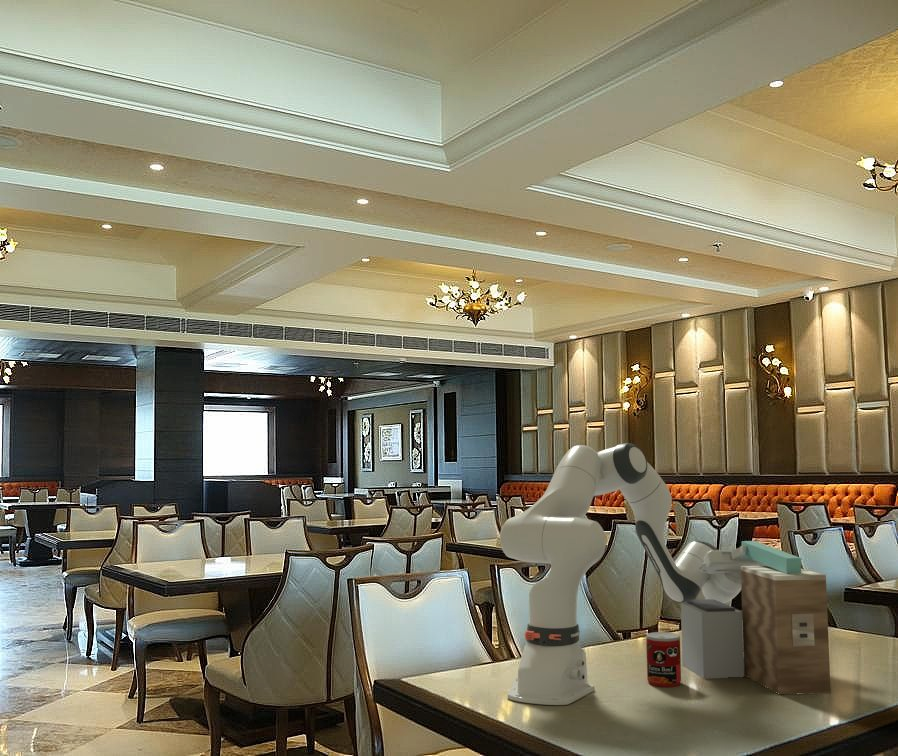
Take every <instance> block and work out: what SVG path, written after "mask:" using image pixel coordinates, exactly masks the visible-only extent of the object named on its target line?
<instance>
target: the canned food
mask: <svg viewBox="0 0 898 756" xmlns="http://www.w3.org/2000/svg"><path fill="white" fill-rule="evenodd" d="M645 643H646V644H645V646H646V647H645V648H646V676H647V678H646V679H647V682H648V683H649V685H652V686H655V687H660V688H661V687H662V688H673V687H679V685H680V684H681V682H682V670H681V669H682V667H681V666H682V664H681V663H682V662H681V658H682V656H681V636H680V634H678V633H673V632H668V631H654V632H653V631H652V632H649V633H647V634H646V638H645Z"/></svg>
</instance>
